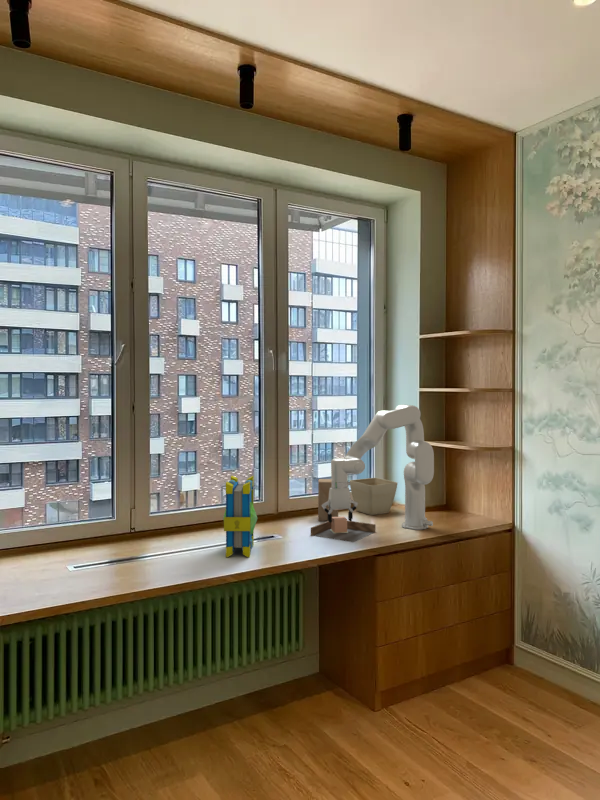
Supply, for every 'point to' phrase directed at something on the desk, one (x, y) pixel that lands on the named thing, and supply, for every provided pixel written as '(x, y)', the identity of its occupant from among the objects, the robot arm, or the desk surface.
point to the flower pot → (373, 495)
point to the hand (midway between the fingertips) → (340, 521)
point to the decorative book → (239, 516)
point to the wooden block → (324, 499)
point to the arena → (352, 535)
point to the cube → (339, 524)
